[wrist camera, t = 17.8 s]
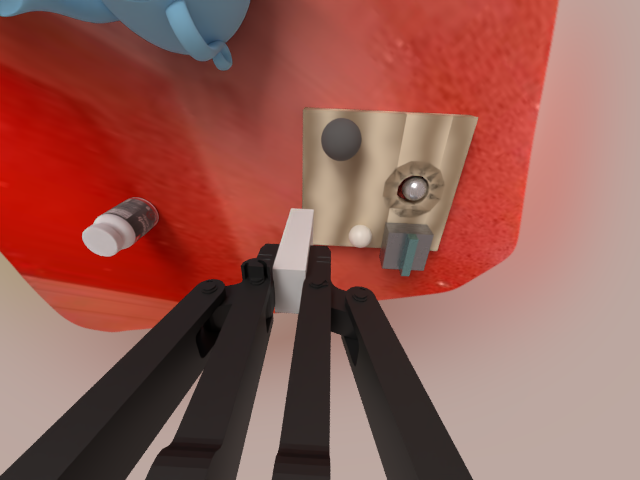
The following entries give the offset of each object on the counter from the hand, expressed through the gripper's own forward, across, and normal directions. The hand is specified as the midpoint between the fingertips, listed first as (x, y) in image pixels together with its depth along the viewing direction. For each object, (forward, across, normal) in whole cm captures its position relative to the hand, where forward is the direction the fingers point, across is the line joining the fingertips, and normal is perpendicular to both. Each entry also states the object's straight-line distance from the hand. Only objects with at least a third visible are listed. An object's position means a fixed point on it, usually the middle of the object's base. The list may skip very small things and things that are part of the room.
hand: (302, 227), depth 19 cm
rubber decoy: (+19, +3, +2) cm, 20 cm away
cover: (+22, +14, -13) cm, 29 cm away
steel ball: (+23, +14, -5) cm, 27 cm away
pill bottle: (+25, -29, -12) cm, 40 cm away
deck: (+24, +9, -5) cm, 26 cm away
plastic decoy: (+20, +7, -12) cm, 24 cm away
